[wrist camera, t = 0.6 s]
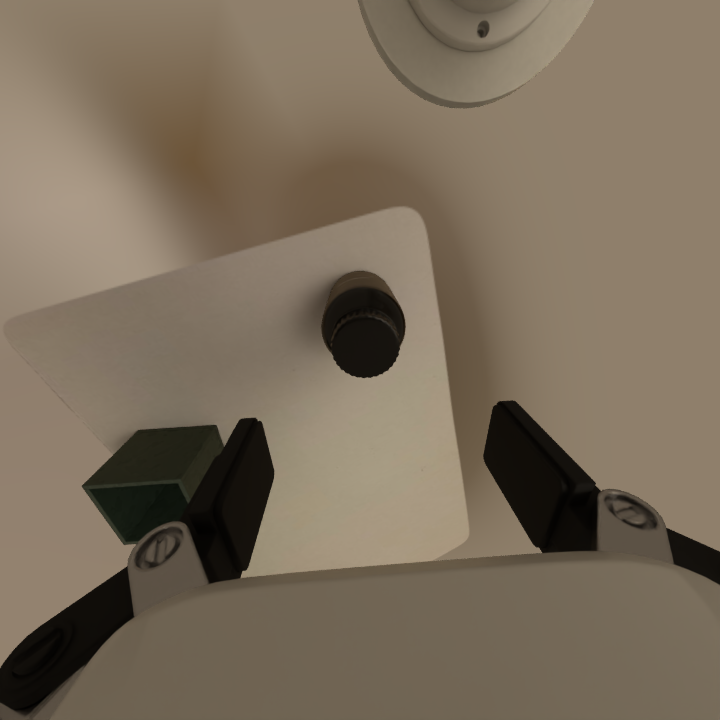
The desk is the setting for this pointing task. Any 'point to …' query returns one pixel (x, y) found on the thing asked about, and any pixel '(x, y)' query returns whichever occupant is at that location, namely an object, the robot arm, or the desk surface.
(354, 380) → the desk surface
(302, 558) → the desk surface
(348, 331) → the supplement bottle
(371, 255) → the desk surface
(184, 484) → the open box
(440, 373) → the desk surface
